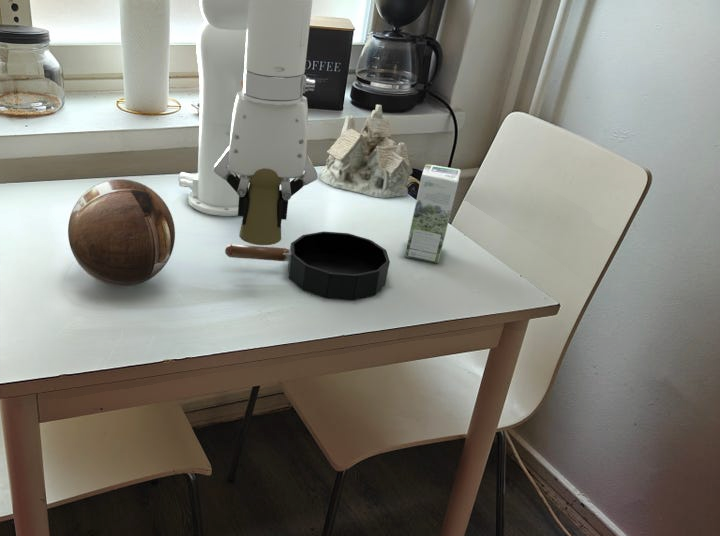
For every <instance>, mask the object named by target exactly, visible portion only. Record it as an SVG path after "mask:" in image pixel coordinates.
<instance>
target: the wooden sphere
mask: <svg viewBox="0 0 720 536" xmlns="http://www.w3.org/2000/svg"><path fill="white" fill-rule="evenodd" d="M67 225H68V226H67V227H68V228H67V237H68V244H69V247H70V251H71V253H72V255H73V258H75V261H76V262H77V264H78V265H79V266H80V268H82V269H83V270H84V272H86V273H87V274H88V275H89V276H90V277H92V278H93V279H95V280H97V281H99V282H101V283H103V284H106V285H109V286H113V287H133V286H137V285H140V284H143V283H146V282H148V281H149V280H151V279H152V278H154V277H155V276H156V275H158V274H159V273H160V272H161V271H162V270H163V269H164V268H165V266H166V265H167V263H168V262H169V260H170V258H171V256H172V254H173V250H174V247H175V242H176V227H175V222H174V218H173V215H172V213H171V211H170V208H169V207H168V205H167V203H166V202H165V201H164V199H163V198H162V197H161V196H160V195H159V194H158V193H157V192H156V191H155V190H153V189H152V188H150V187H149V186H147V185H146V184H143V183H141V182H138V181H135V180H131V179H125V178H117V179H116V178H114V179H109V180H105V181H102V182H99V183H97V184H95V185H93V186H92V187H90V188H89V189H88V190H86V191H85V192H84V193H83V194H82V195H81V196H80V197H79V198H78V199H77V201H76V203H75V204H74V206H73V208H72V210H71V213H70V216H69V219H68V224H67Z"/></svg>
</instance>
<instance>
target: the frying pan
mask: <svg viewBox="0 0 720 536" xmlns="http://www.w3.org/2000/svg"><path fill="white" fill-rule="evenodd" d="M289 247H290V248H285V247H274V246H263V245H248V244H247V245H246V244H234V243H233V244H232V243H231V244H228V245H227V246H225V249H224V253H225V255H226V256H227V257H228V258H231V259H232V258H233V259H245V260H246V259H248V260H261V261H274V262H288V263H287V265H288V266H287V271H288V272H287V273H288V279H289V280H290V281H291V282H292V283H293V284H294V285H296V286H297V287H298V288H299V289H300V290H302V291H304V292H305V293H310V294H312V295H316V296H318V297H322V298H324V299H331V300H343V301H356V300H362V299H365V298H370V297H375V296H376V295H377V294H378V293H379V292H380V291H381V290H382V289H383V288H384V287H385V286H386V283H387V278H388V273H389V268H390V264H391V261H390V258H389V254H388V252H387V250H386V249H385V248H383V246H380V244H378V243H376V242H375V241H373V240H371V239H369V238H366V237H362V236H358V235H355V234H353V233H350V232H349V233H348V232H339V231H338V232H335V231H318V232H317V231H316V232H312V233H306V234H302V235H301V236H299V237H297V238H296V239H295V240H293V241H292V242H291V243H290V246H289Z"/></svg>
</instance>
